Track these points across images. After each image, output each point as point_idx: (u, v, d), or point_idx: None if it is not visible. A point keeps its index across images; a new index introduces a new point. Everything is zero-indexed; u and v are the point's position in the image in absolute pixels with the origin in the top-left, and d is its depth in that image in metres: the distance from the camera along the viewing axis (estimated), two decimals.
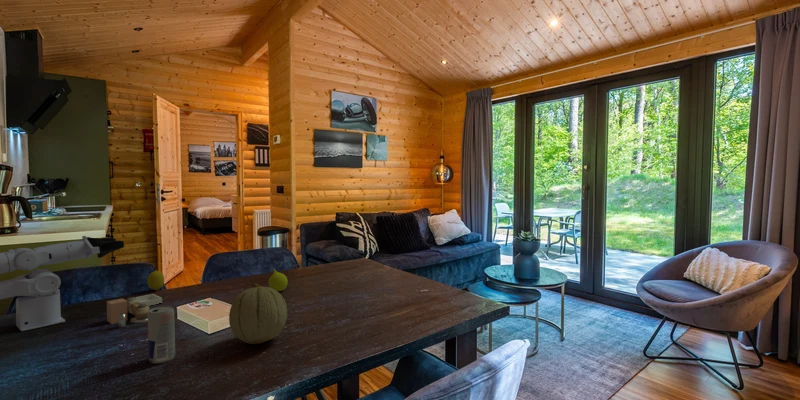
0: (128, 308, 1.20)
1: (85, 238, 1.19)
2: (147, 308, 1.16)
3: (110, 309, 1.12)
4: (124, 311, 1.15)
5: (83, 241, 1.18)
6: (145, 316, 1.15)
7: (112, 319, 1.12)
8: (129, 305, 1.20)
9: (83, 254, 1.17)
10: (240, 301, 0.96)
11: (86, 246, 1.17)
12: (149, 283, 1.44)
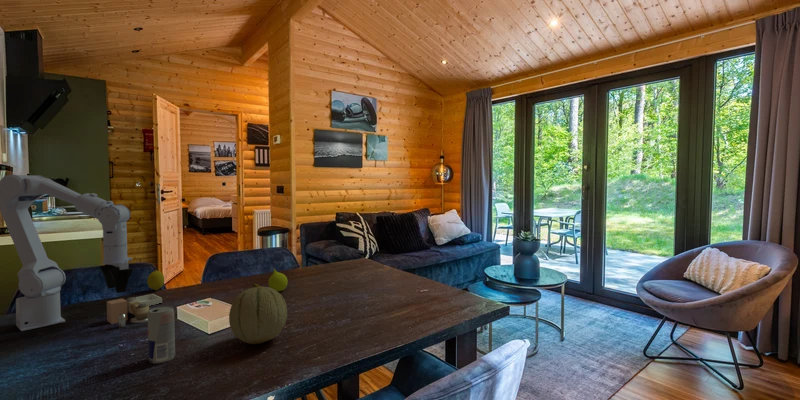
0: (128, 308, 1.20)
1: (130, 259, 1.16)
2: (147, 308, 1.16)
3: (110, 309, 1.12)
4: (124, 311, 1.15)
5: None
6: (145, 316, 1.15)
7: (112, 319, 1.12)
8: (129, 305, 1.20)
9: (113, 257, 1.12)
10: (240, 301, 0.96)
11: (123, 260, 1.13)
12: (149, 283, 1.44)
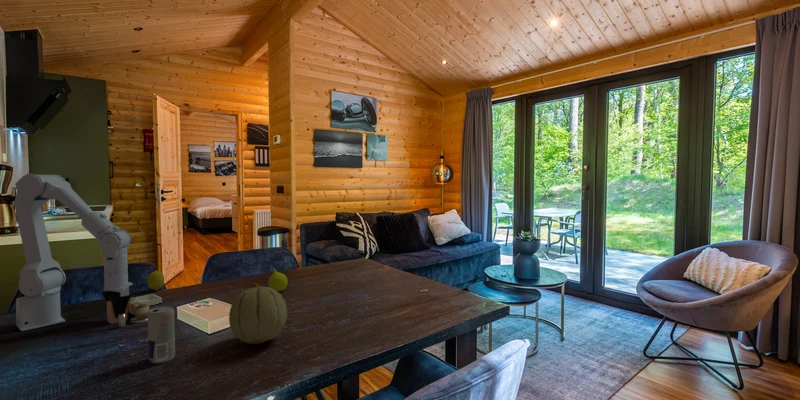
0: (128, 308, 1.20)
1: (130, 284, 1.17)
2: (147, 308, 1.16)
3: (110, 309, 1.12)
4: None
5: (127, 283, 1.16)
6: (145, 316, 1.15)
7: (112, 319, 1.12)
8: (129, 305, 1.20)
9: (114, 283, 1.12)
10: (240, 301, 0.96)
11: (123, 285, 1.14)
12: (149, 283, 1.44)
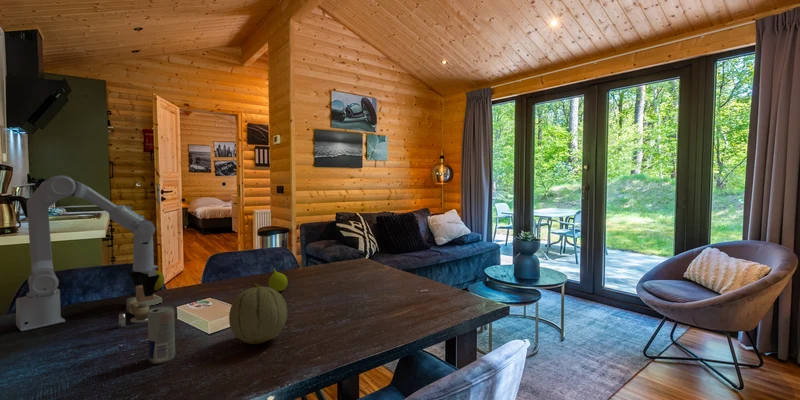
0: (128, 308, 1.20)
1: (155, 267, 1.32)
2: (147, 308, 1.16)
3: (139, 292, 1.28)
4: None
5: (153, 265, 1.31)
6: (145, 316, 1.15)
7: (141, 301, 1.28)
8: (129, 305, 1.20)
9: (142, 265, 1.27)
10: (240, 301, 0.96)
11: (150, 267, 1.29)
12: None
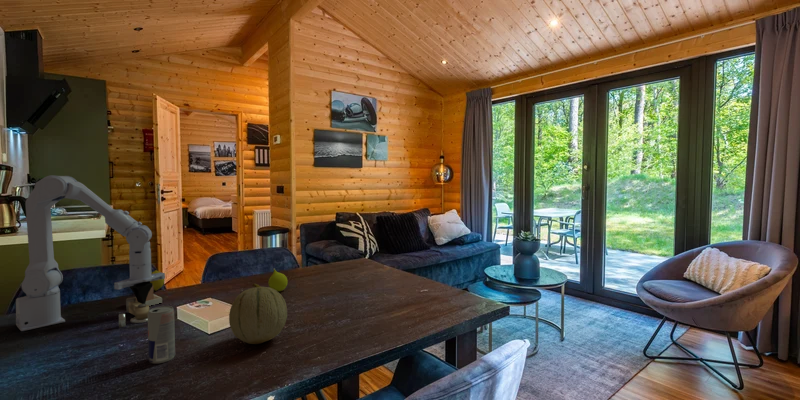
0: (128, 308, 1.20)
1: (144, 280, 1.19)
2: (147, 308, 1.16)
3: None
4: (151, 294, 1.30)
5: (141, 278, 1.19)
6: (145, 316, 1.15)
7: None
8: (129, 305, 1.19)
9: None
10: (240, 301, 0.96)
11: (134, 279, 1.18)
12: None
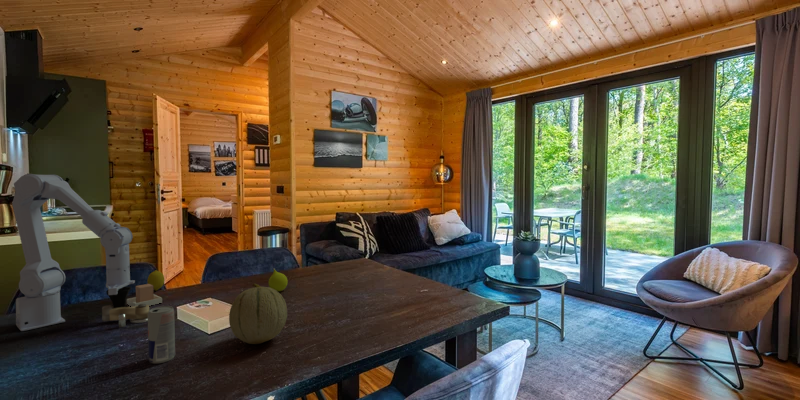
0: (109, 316, 1.13)
1: (131, 282, 1.16)
2: None
3: (139, 292, 1.28)
4: (151, 294, 1.30)
5: (127, 281, 1.15)
6: None
7: (141, 301, 1.28)
8: (112, 312, 1.13)
9: (111, 280, 1.12)
10: (240, 301, 0.96)
11: (120, 283, 1.13)
12: (149, 283, 1.44)
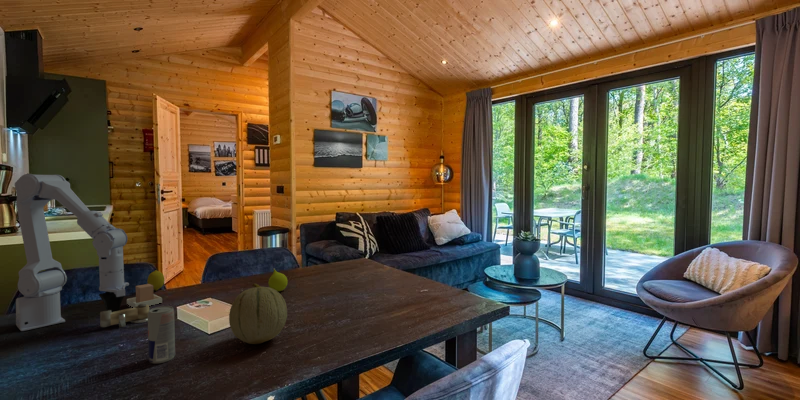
0: (110, 321, 1.09)
1: (126, 284, 1.14)
2: None
3: (139, 292, 1.28)
4: (151, 294, 1.30)
5: (123, 283, 1.13)
6: None
7: (141, 301, 1.28)
8: (113, 316, 1.09)
9: (109, 284, 1.09)
10: (240, 301, 0.96)
11: (119, 286, 1.11)
12: (149, 283, 1.44)
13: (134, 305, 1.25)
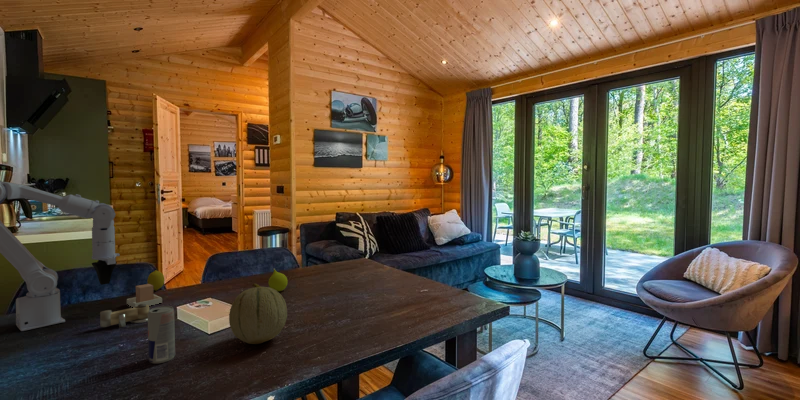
0: (110, 321, 1.09)
1: (117, 255, 1.23)
2: None
3: (139, 292, 1.28)
4: (151, 294, 1.30)
5: (114, 253, 1.22)
6: None
7: (141, 301, 1.28)
8: (113, 316, 1.09)
9: (101, 253, 1.18)
10: (240, 301, 0.96)
11: (110, 255, 1.20)
12: (149, 283, 1.44)
13: (134, 305, 1.25)
